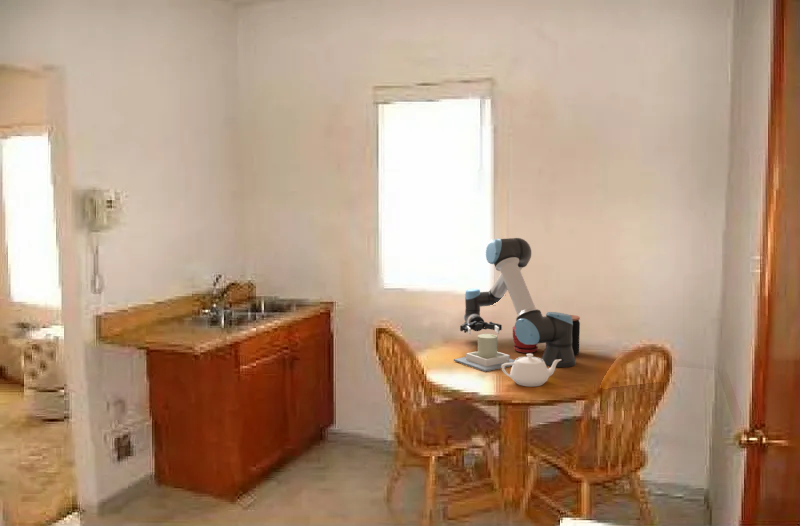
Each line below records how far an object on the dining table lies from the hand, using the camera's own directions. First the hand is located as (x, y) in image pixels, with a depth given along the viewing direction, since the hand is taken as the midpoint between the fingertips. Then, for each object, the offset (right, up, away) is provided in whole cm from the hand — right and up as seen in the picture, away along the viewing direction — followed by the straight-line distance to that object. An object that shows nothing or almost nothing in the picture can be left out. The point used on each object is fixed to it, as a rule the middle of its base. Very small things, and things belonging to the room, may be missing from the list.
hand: (484, 331), depth 311 cm
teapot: (+14, -17, -41) cm, 47 cm away
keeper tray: (0, -14, -9) cm, 16 cm away
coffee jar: (+41, -12, +7) cm, 43 cm away
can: (0, -13, -9) cm, 16 cm away
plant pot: (+22, -11, +12) cm, 28 cm away
